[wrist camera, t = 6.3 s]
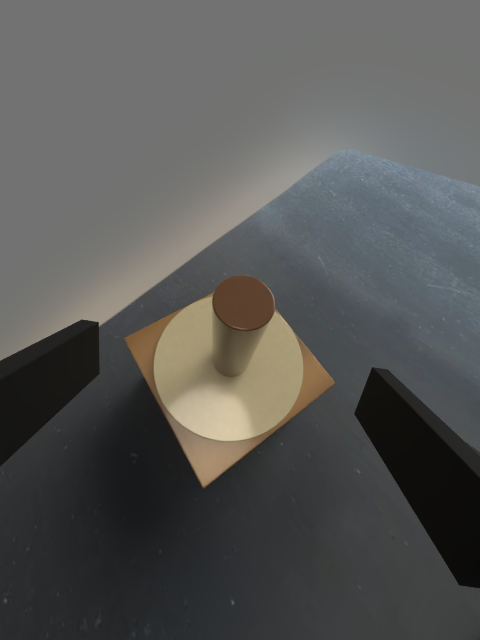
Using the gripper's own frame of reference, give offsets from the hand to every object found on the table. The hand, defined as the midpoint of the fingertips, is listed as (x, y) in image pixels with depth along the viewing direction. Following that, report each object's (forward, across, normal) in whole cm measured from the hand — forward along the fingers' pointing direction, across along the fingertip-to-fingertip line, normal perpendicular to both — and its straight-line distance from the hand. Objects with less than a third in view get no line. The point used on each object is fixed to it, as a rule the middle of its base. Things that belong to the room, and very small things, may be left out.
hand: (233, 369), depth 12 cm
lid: (+5, 0, -2) cm, 6 cm away
